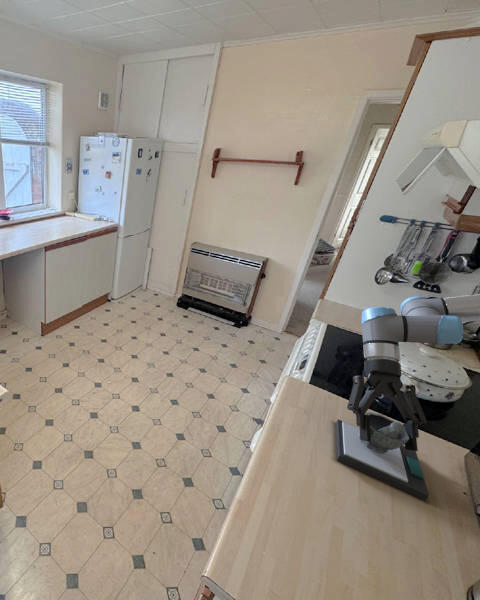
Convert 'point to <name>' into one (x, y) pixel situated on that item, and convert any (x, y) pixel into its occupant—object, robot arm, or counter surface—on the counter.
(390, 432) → the mortar and pestle
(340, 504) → the counter surface
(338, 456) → the kitchen scale
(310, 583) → the counter surface
